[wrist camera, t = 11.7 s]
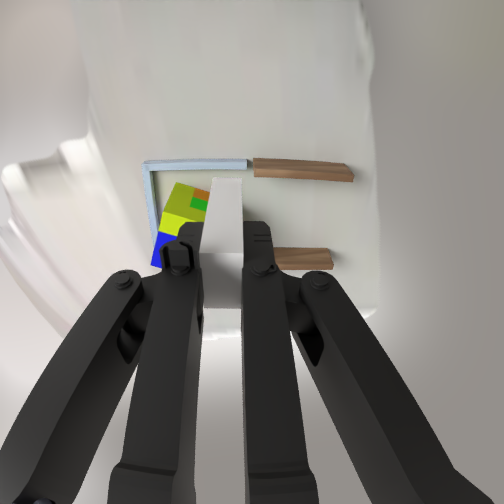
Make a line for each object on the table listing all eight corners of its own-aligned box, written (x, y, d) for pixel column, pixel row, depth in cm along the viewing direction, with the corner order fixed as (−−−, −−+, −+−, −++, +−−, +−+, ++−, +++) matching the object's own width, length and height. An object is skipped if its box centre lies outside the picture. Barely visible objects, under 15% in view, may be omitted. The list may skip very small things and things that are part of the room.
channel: (253, 158, 45) (254, 169, 41) (344, 163, 46) (354, 175, 42) (249, 252, 56) (249, 269, 52) (326, 253, 57) (332, 269, 53)
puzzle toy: (163, 230, 52) (150, 265, 44) (176, 182, 47) (163, 211, 39) (214, 245, 55) (211, 282, 47) (233, 199, 49) (232, 232, 41)
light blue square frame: (144, 161, 44) (141, 164, 43) (246, 159, 45) (246, 162, 44) (157, 250, 55) (155, 255, 54) (243, 251, 56) (243, 256, 55)
